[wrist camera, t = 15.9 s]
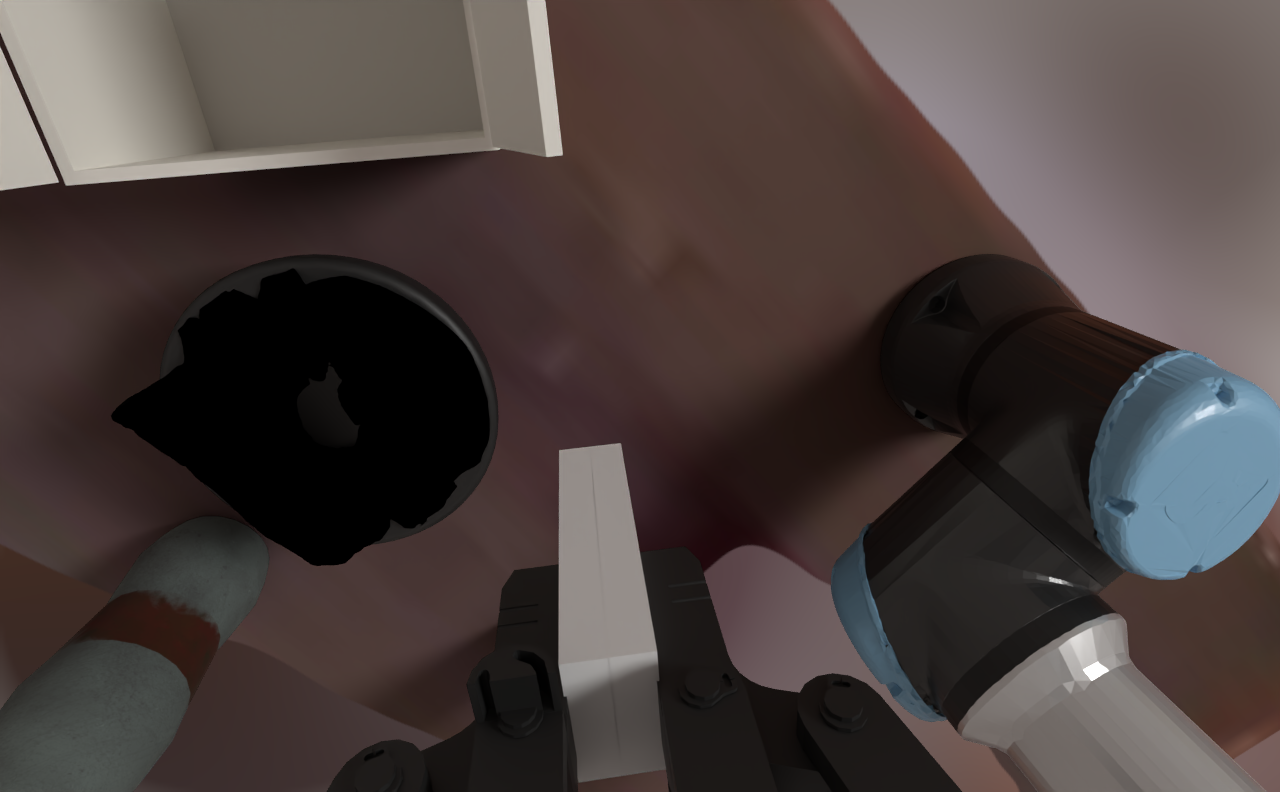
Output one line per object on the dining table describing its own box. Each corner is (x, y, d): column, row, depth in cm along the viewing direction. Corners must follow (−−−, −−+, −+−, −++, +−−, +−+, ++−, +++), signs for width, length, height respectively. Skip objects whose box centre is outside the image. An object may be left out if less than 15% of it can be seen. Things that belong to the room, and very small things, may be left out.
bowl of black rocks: (545, 428, 53) (538, 580, 36) (319, 501, 54) (207, 685, 37) (445, 189, 45) (375, 242, 28) (177, 277, 45) (-53, 383, 28)
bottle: (232, 492, 53) (-116, 907, 26) (300, 571, 57) (60, 1003, 29) (133, 536, 53) (-309, 985, 26) (207, 610, 57) (-111, 1069, 30)
